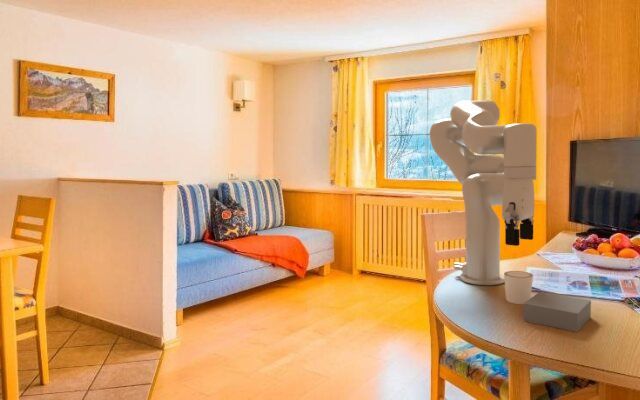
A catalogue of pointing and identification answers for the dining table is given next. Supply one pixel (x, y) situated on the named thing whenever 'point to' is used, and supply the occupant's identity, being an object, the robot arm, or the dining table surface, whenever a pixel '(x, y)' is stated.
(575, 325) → the slate plinth
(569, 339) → the dining table surface
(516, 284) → the white cup
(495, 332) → the dining table surface
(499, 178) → the robot arm
